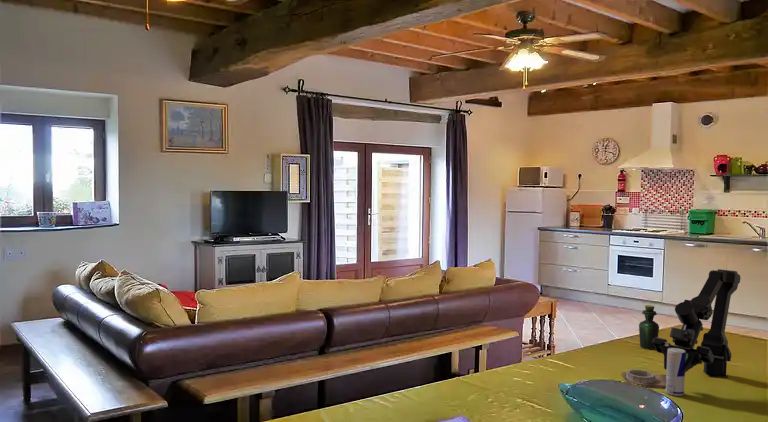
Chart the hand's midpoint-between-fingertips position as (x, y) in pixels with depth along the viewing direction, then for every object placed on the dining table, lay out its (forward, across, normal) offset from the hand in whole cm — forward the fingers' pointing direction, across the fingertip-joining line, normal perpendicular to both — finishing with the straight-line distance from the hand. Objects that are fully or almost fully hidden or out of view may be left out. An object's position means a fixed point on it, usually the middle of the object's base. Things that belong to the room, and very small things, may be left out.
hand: (673, 370), depth 210 cm
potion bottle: (-31, -34, +43) cm, 63 cm away
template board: (+1, -12, +11) cm, 16 cm away
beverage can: (+5, 0, +7) cm, 8 cm away
